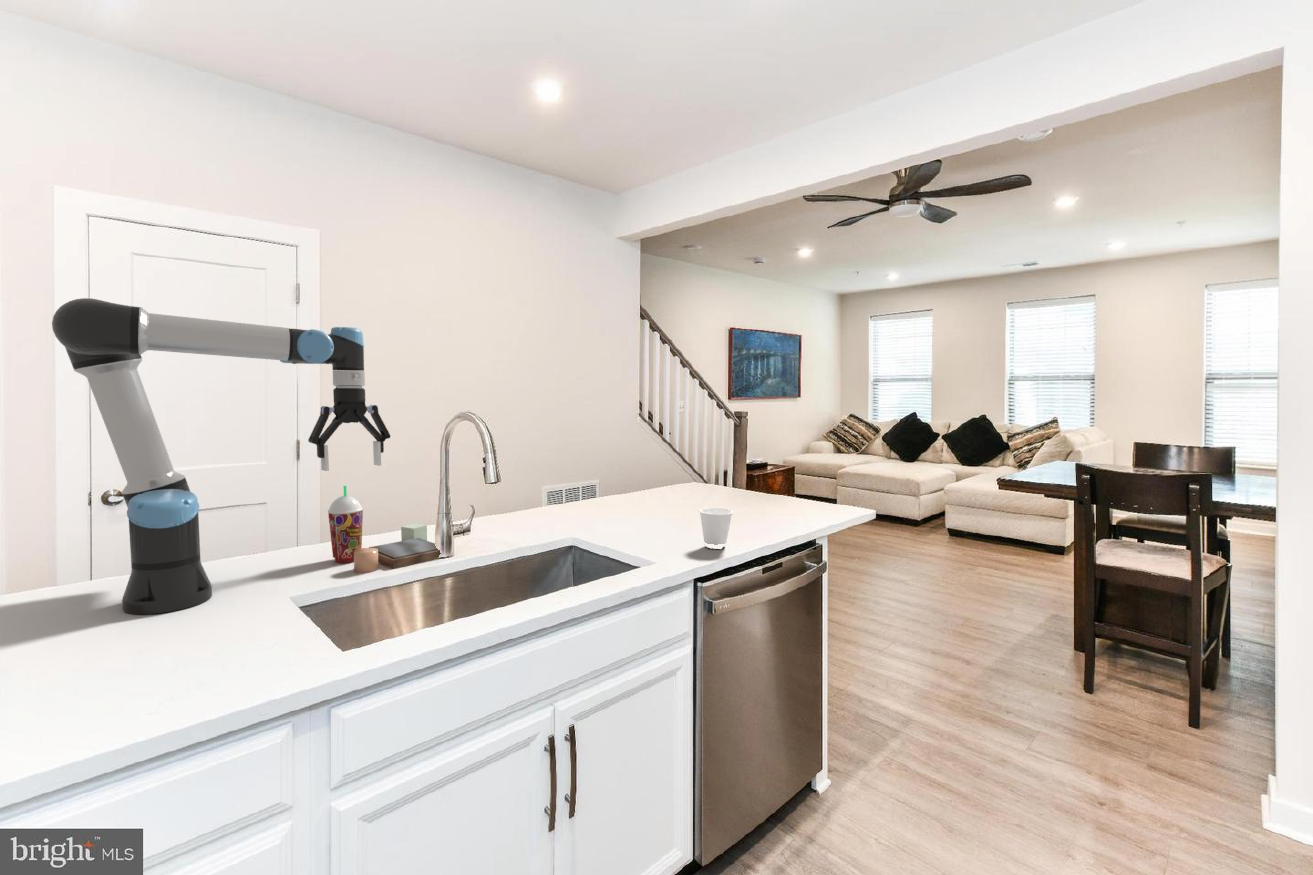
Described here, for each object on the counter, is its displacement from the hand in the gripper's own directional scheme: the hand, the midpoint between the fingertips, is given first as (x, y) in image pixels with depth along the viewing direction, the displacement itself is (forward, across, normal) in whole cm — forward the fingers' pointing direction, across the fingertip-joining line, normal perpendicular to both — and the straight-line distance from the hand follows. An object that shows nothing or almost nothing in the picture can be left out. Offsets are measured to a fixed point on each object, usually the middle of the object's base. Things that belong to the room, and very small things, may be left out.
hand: (352, 467), depth 167 cm
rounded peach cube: (+25, -2, -12) cm, 28 cm away
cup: (+26, +78, -63) cm, 103 cm away
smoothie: (+25, -2, 0) cm, 25 cm away
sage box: (+25, +20, +5) cm, 32 cm away
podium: (+25, +10, -8) cm, 28 cm away
